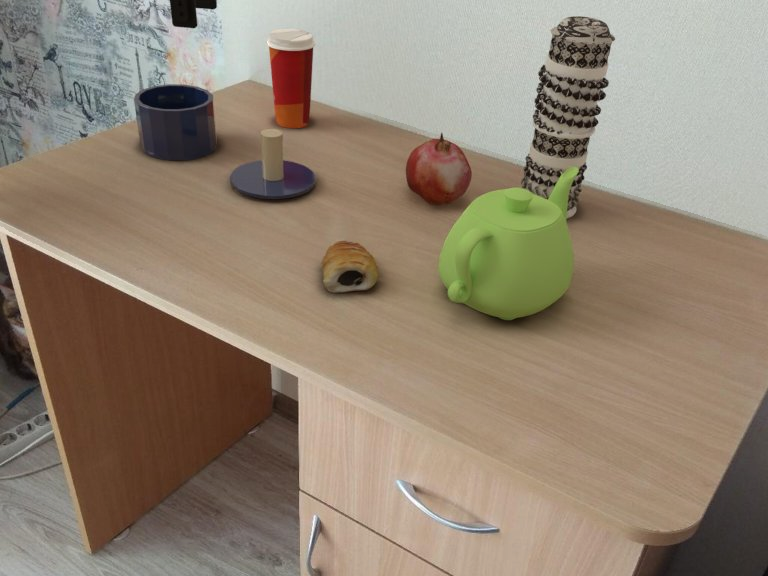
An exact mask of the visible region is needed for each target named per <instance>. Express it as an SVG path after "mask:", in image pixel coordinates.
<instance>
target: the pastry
mask: <svg viewBox="0 0 768 576" xmlns="http://www.w3.org/2000/svg"><path fill="white" fill-rule="evenodd" d="M320 264H321V268H322V276H323V281H322V284H323V286H324V287H325V289H326V290H327V291H328V292H330V293H334V294H337V293H339V294H340V293H347V292H353V291H354V292H355V291H357V292H358V291H367V290H370V289H371V288H373V287H374V286H375V284H376V283H377V281H378V279H379V277H380V272H379V267H378V265H377V261H376V259H375V258H374V257H373V255H372V254H371V253H370V252H369V251H368V250H367V249H366V247H364V246H363V245H361V244H360V243H358V242H353V241H347V240H339V241H337V242H335V243H333V244H332V245H330V246H328V248H327V250H326V252H325V255H324V256H323V258H322V261H321V263H320Z"/></svg>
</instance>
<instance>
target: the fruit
mask: <svg viewBox="0 0 768 576" xmlns="http://www.w3.org/2000/svg"><path fill="white" fill-rule="evenodd" d="M472 177H473V173H472V167H471V166H470V163H469V161H468V158H467V156H466V155H465V152H464V151H463V149H461V147H459V145H458V144H456V143H454V142H451V141H450V140H447V139H445V138H444V134H443V132H441V133H440V136H439V138H431V139H430V140H428V141H425V142H424V143H421V144H420V145H418V146H416V147H415V148H413V150H412V151H411V152H410V154H409V156H408V158H407V161H406V165H405V178H406V183H407V186H408V188H409V190H410V191H411V192H412V193H414V194H415V195H416V196H418V197H420V198H421V199H422V200H423V201H425V202H426V203H428V204H429V205H432V206H440V205H445V204H451V203H452V202H454V201H456V200H458V199H459V198H461V197H462V196H463V195H464V194H465V193H466V192H467V190H468V189H469V187H470V183H471V181H472Z"/></svg>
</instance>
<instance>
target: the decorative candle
mask: <svg viewBox="0 0 768 576" xmlns="http://www.w3.org/2000/svg"><path fill="white" fill-rule="evenodd" d="M550 34H551V35H552V37H551V40H550V45H549V51H548V54H546V59H545V64H543V65H542V66H541V67H540V69H539V71H538V73H537V76H538V79H539V81H540V82H539V83H538V84H537V87H536V93H537V95H536V97H535V98H534V104H535V105H534V106H535V108H536V109H535V110H534V113H533V115H532V126H533V128H534V130H533V131H534V132H533V138H532V141H531V142H530V146H529V150H528V151H529V152H528V154H527V155H526V156H525V158H524V159H525V164H526V165H525V166H524V167H523V172H524V173H523V174H524V176H523V177H521V180H520V184H521V187H520V188H523V189H526V190H529V191H530V192H532V193H533V194H535V195H538V196H540V197H543V198H545V199H547V200H548V198H549V197H550V195H551V193H552V191H553V189H554V187H555V185H556V183H557V181H558V180H559V178H560V176H561V175H562V174H563V173H564V172H565V171H566V170H567V169H569V168H571V167H577V168H578V170H579V171H578V174H577V176H576V177H575V179H574V181H573V183H572V185H571V188H570V192H569V196H568V206H567V219H569V218H572V217H573V216H574V215H575V214H576V212H577V206H578V203H579V202H580V198H579V196H580V193H581V192H582V191H583V188H582V184H583V181H584V180H585V176H584V173H585V172H586V170H587V168H588V166H587V159H588V154H589V152H588V146H589V143H590V138H591V137H592V136H593V134H595V133H596V127H597V125H598V124H599V120H598V119H597V118H596V116H599V115H600V114H601V112H602V108H601V107H600V106H599V104H598V102H600V101H603V100H605V98H606V97H607V94H606V93H605V91H604V90H603V89H606V88H607V87H609V84H610V82H609V80H608V79H607V78H606V76H607V71H608V69H609V61H608V60H609V56H610V52H611V48H612V44H613V42H614V41H616V37H615V35H613V34H611V31H610V28H609V26H608V23H606V22H604V21H603V20H600V19H598V18H594V17H590V16H589V17H588V16H582V15H581V16H577V15H576V16H567V17H565V18H563V19H562V20H561V21H559V23H558V25H557V26H554V27H553V28H551V29H550Z"/></svg>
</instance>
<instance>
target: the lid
mask: <svg viewBox="0 0 768 576" xmlns="http://www.w3.org/2000/svg"><path fill="white" fill-rule="evenodd" d="M283 138H284V137H283V131H282V130H280V129H277V128H265V129H263V130H261V131H260V146H261V147H260V149H261V159H259V160H255V161H250V162H245V163H243V164H242V165H239V166H238V167H236V168H235V169H233V170H232V172H231V173H230V176H229V180H230V181H229V182H230V184H231V186H232V187H233V188H234V189H235V190H236V191H237V192H239V193H241V194H244V195H246V196H249V197H253V198H259V199H266V200H280V199H281V200H282V199H290V198H294V197H299V196H301V195H304V194H306V193H308V192H309V191H311V190H312V189H313V188H314V187H315V185H316V180H317V179H316V178H317V177H316V174H315V173H314V171H313V170H312V169H310V168H309V167H307V166H306V165H303V164H301V163H298V162H295V161H290V160H286V159H285V160H284V139H283Z"/></svg>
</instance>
